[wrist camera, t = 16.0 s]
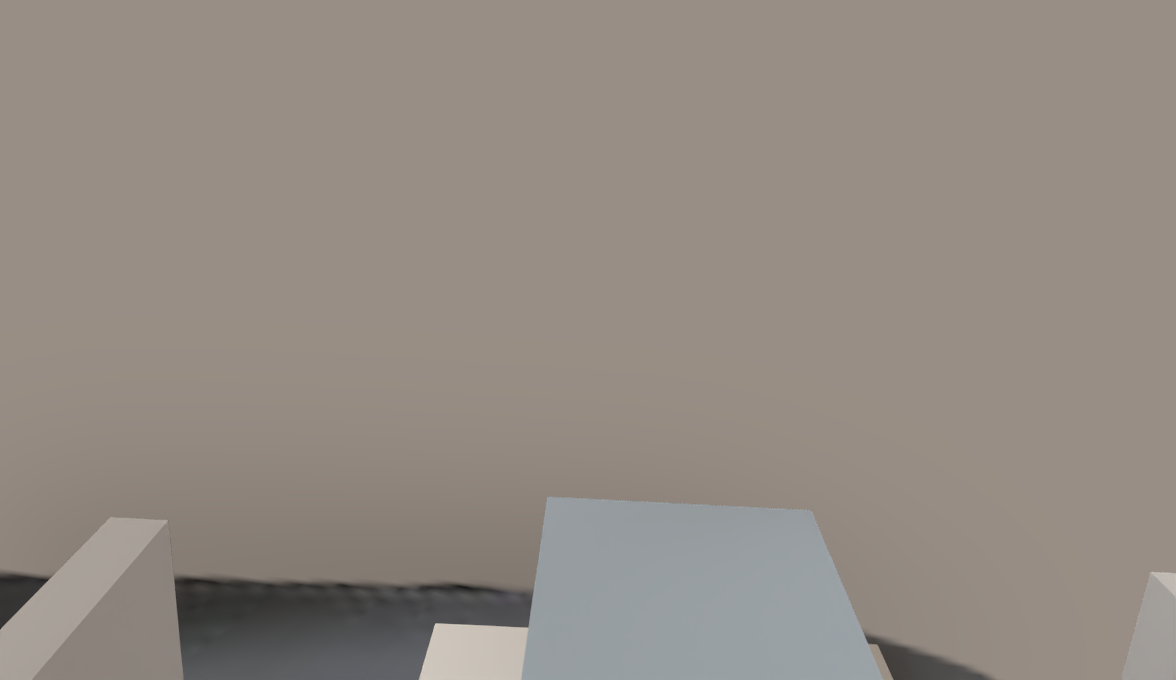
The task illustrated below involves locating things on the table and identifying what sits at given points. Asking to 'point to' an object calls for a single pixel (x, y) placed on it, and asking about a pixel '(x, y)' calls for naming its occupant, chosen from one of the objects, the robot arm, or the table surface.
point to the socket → (499, 653)
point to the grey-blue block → (689, 596)
